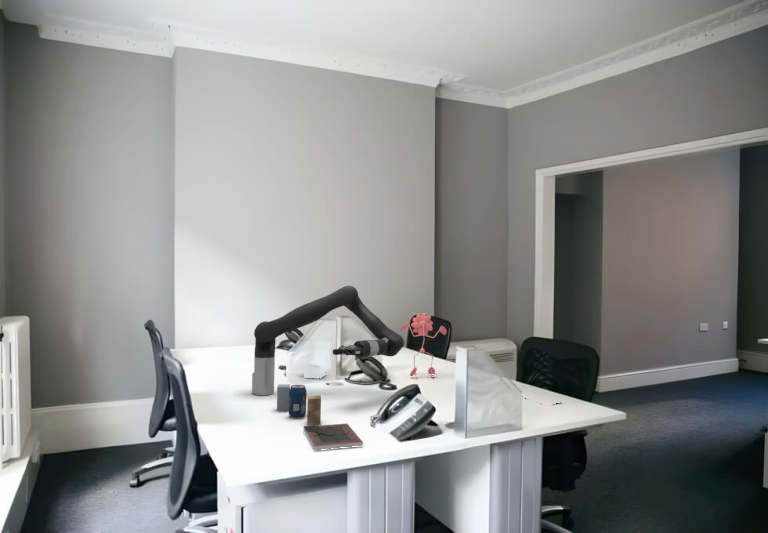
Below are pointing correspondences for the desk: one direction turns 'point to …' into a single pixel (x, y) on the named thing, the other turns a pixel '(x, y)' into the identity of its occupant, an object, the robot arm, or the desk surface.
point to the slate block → (283, 397)
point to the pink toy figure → (422, 327)
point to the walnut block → (314, 410)
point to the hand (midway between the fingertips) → (333, 352)
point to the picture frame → (332, 436)
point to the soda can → (297, 401)
